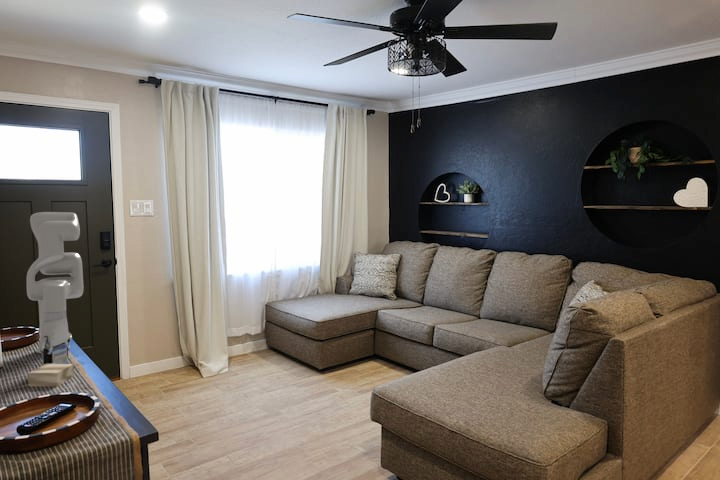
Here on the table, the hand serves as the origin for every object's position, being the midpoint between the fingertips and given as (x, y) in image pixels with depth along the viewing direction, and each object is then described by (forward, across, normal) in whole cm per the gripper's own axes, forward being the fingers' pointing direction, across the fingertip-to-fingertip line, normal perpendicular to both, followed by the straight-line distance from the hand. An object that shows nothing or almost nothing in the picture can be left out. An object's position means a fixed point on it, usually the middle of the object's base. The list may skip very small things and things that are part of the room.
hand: (56, 360), depth 183 cm
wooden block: (+4, +12, +7) cm, 14 cm away
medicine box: (+4, 0, 0) cm, 4 cm away
